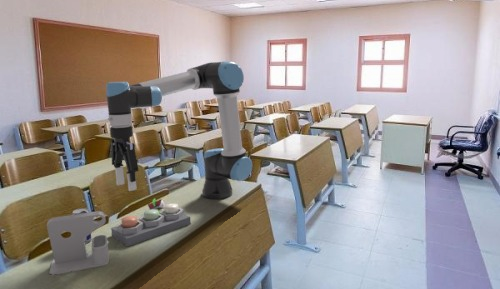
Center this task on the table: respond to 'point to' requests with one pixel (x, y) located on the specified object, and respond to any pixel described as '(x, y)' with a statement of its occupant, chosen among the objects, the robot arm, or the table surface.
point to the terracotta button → (129, 221)
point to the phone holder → (76, 242)
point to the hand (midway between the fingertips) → (126, 187)
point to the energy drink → (80, 211)
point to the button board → (150, 227)
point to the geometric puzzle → (157, 205)
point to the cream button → (171, 208)
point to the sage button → (151, 215)
